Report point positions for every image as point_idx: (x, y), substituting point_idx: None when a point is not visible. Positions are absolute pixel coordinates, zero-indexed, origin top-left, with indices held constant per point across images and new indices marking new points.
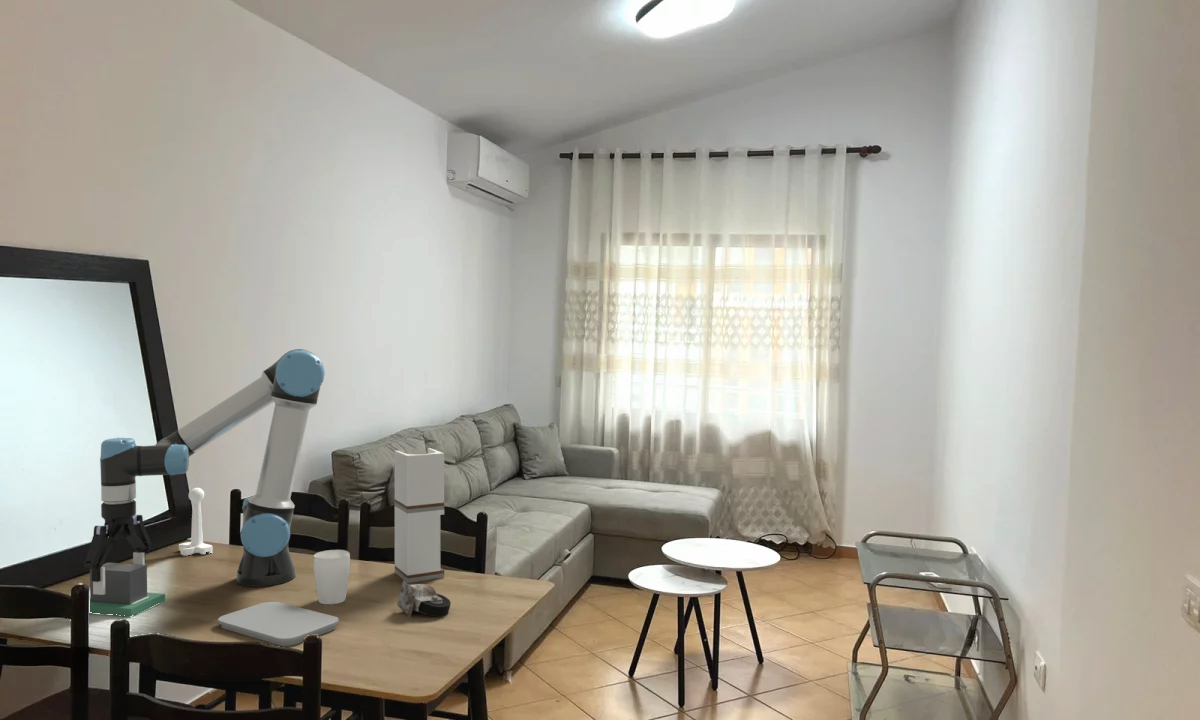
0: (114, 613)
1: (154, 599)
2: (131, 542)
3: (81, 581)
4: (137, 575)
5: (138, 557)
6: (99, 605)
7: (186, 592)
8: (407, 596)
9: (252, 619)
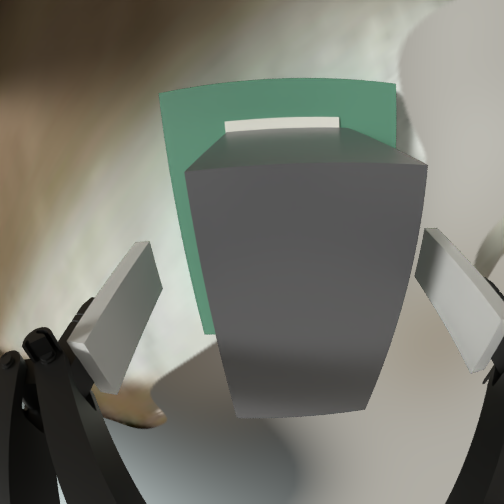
0: None
1: (235, 82)
2: (122, 471)
3: (153, 414)
4: (317, 149)
5: (110, 344)
6: None
7: (64, 116)
8: None
9: None
